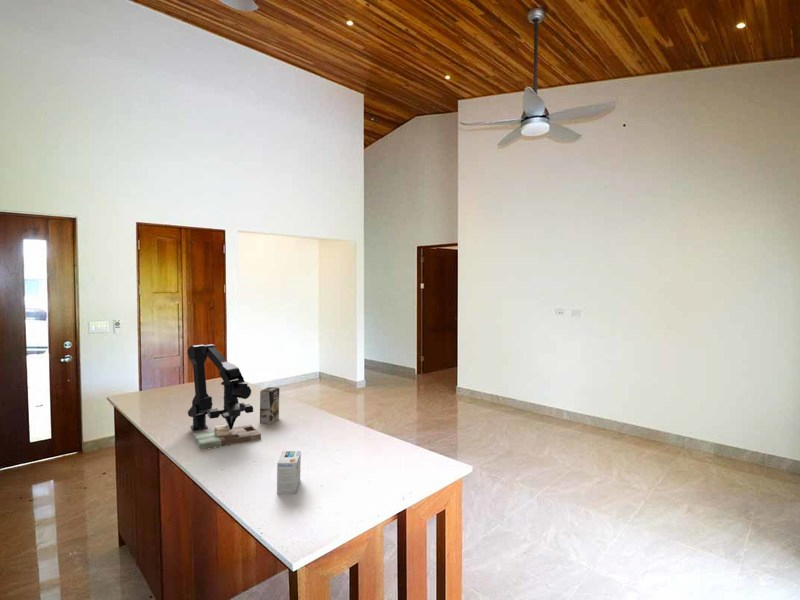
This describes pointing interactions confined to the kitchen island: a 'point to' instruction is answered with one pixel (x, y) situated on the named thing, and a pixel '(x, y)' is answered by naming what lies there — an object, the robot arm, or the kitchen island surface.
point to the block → (221, 430)
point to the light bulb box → (288, 472)
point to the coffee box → (269, 405)
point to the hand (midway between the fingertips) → (230, 429)
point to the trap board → (227, 437)
